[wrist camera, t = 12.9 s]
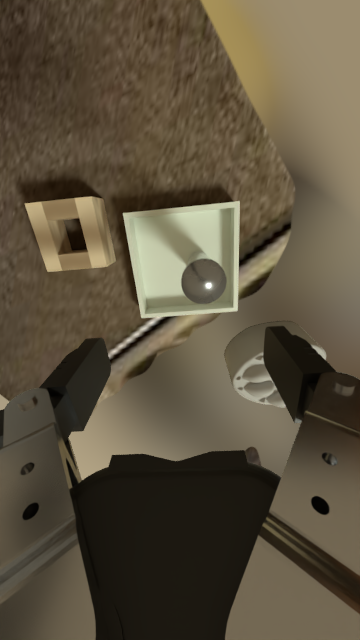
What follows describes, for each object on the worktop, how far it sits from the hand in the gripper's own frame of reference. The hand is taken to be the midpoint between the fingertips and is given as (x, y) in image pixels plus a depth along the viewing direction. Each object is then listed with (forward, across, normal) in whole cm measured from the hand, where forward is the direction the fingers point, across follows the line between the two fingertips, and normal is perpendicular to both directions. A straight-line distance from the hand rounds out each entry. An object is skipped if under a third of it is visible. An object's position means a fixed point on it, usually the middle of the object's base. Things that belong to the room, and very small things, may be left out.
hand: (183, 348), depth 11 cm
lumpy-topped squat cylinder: (+24, -12, +16) cm, 31 cm away
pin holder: (+23, +14, -5) cm, 28 cm away
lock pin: (+23, -2, 0) cm, 23 cm away
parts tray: (+23, 0, 0) cm, 23 cm away
